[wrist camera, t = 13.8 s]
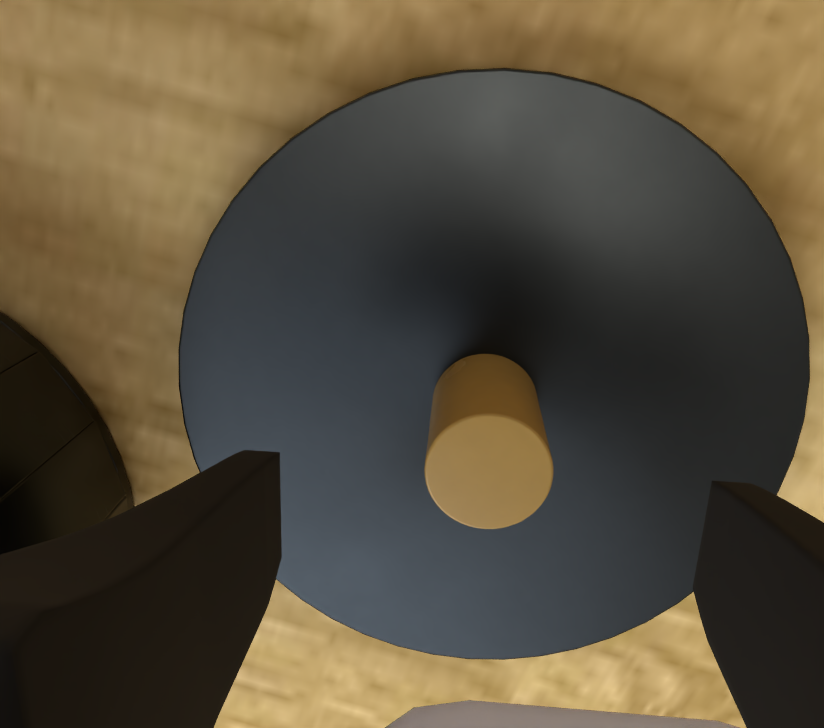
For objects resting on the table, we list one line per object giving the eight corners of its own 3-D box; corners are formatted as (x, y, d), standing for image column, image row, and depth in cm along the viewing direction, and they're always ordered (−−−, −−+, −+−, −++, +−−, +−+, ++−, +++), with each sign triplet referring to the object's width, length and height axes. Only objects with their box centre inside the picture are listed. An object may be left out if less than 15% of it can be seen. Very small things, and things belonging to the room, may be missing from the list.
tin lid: (86, 415, 20) (-25, 505, 15) (446, -85, 16) (438, -160, 11) (510, 720, 22) (520, 877, 17) (925, 354, 18) (1078, 436, 13)
